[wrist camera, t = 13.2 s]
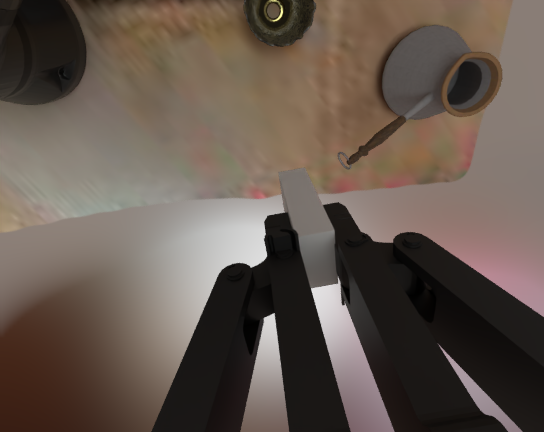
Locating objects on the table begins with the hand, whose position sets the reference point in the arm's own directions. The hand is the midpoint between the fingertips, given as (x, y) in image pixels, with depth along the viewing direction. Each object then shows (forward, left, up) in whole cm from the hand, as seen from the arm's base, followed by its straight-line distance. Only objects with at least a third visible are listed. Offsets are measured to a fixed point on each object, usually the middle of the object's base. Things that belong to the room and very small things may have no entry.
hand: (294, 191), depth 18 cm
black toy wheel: (+3, +10, -31) cm, 32 cm away
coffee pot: (+17, -2, -31) cm, 35 cm away
